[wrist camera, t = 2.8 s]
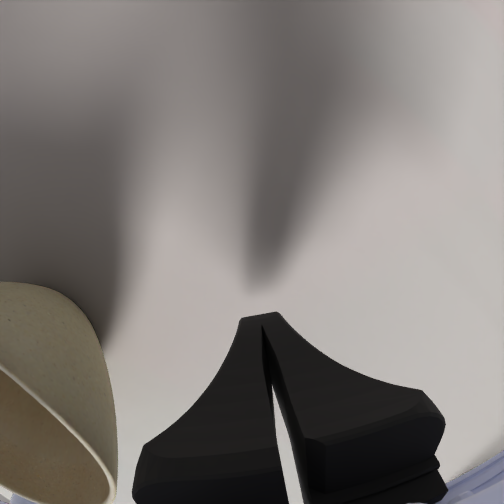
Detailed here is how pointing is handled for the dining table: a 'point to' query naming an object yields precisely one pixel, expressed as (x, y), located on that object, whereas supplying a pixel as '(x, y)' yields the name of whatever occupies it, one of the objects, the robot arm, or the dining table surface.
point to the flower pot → (54, 401)
